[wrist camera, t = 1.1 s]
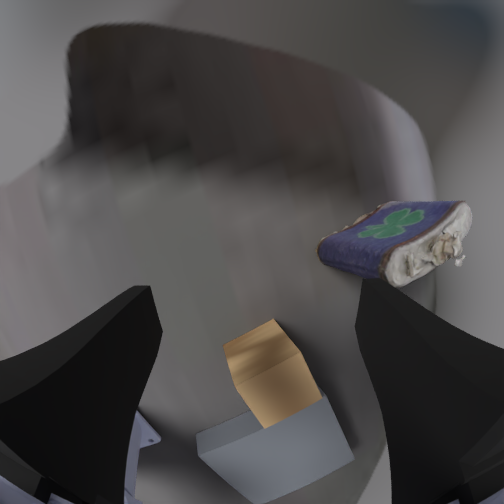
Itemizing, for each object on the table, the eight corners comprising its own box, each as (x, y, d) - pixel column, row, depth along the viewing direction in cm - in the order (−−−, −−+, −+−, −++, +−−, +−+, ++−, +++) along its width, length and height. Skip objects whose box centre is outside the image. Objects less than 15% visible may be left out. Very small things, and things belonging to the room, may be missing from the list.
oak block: (247, 384, 23) (264, 428, 17) (222, 344, 22) (234, 386, 16) (293, 360, 23) (322, 398, 18) (273, 318, 23) (300, 351, 17)
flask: (393, 196, 23) (490, 195, 13) (402, 226, 24) (497, 237, 14) (309, 242, 22) (399, 267, 12) (323, 275, 23) (412, 318, 13)
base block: (250, 488, 25) (256, 506, 22) (195, 433, 22) (197, 455, 20) (343, 443, 27) (355, 458, 24) (312, 377, 24) (325, 395, 21)
